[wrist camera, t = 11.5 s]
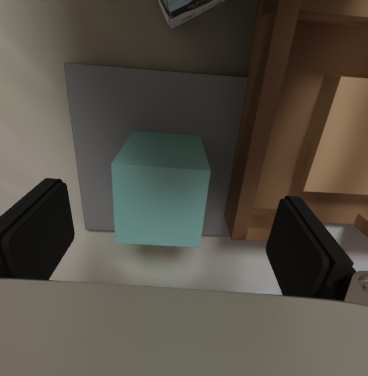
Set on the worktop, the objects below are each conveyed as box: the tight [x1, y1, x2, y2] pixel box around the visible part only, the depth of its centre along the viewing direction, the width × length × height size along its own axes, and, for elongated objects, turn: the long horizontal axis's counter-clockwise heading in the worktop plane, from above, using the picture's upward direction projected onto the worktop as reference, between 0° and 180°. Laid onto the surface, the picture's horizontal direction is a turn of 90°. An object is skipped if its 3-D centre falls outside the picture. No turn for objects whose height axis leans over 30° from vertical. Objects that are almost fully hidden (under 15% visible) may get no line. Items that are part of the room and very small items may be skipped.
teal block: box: [111, 131, 211, 247], centre depth 15 cm, size 4×4×6 cm
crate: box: [224, 0, 368, 241], centre depth 16 cm, size 16×14×4 cm
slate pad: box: [64, 63, 248, 236], centre depth 18 cm, size 12×12×1 cm
